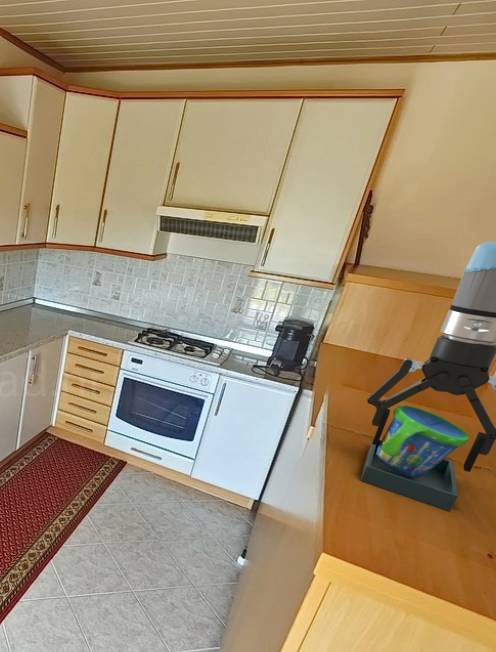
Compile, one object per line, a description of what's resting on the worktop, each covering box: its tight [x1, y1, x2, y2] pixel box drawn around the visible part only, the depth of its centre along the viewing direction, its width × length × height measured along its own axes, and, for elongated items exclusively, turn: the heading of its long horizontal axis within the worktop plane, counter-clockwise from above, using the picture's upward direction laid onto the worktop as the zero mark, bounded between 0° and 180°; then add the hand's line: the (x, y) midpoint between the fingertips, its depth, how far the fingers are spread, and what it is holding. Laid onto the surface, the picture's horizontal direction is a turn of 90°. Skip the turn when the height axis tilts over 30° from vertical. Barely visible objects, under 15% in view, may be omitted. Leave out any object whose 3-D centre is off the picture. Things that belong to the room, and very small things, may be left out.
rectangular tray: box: [359, 438, 459, 513], centre depth 89 cm, size 12×18×3 cm
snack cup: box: [376, 404, 470, 477], centre depth 88 cm, size 16×10×10 cm
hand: (418, 455), depth 88 cm, fingers open, 12 cm apart
